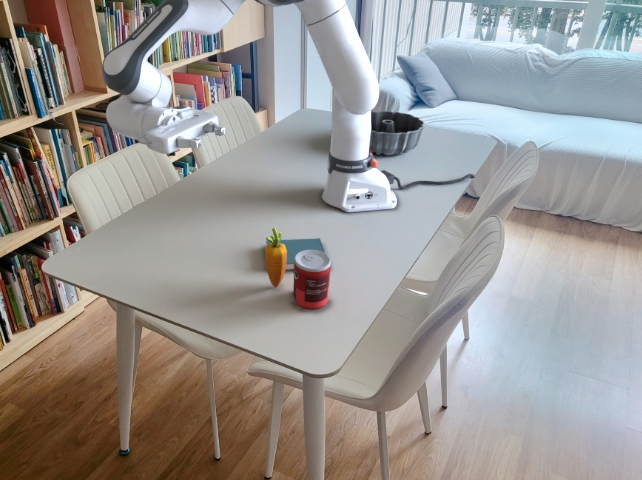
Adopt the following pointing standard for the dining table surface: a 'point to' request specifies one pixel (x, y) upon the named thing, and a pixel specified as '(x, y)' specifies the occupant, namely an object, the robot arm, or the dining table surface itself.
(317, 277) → the canned food
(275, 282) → the carrot
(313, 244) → the blue hardcover book
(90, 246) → the dining table surface
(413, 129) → the bundt pan
